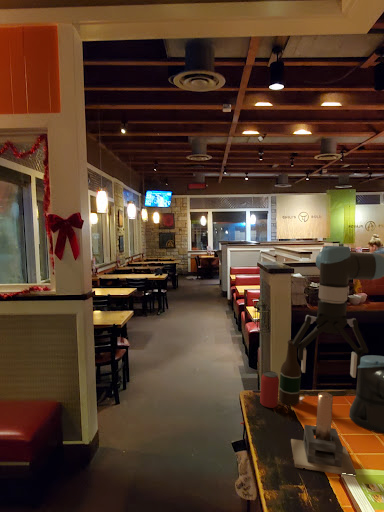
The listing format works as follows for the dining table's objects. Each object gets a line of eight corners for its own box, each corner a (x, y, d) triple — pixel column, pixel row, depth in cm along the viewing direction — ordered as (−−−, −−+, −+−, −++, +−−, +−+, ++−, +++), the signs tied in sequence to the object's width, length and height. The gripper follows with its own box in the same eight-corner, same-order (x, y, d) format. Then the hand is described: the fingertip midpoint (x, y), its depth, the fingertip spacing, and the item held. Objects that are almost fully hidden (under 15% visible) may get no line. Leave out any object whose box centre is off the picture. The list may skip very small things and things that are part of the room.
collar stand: (344, 449, 106) (346, 427, 106) (356, 476, 94) (358, 452, 94) (290, 441, 109) (292, 420, 108) (295, 467, 97) (296, 443, 97)
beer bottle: (300, 406, 132) (304, 344, 130) (279, 404, 133) (283, 342, 131) (297, 397, 139) (301, 338, 138) (278, 394, 141) (281, 336, 139)
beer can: (277, 409, 129) (279, 378, 128) (259, 407, 130) (261, 376, 129) (277, 401, 135) (278, 371, 134) (259, 399, 137) (261, 369, 136)
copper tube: (327, 451, 103) (331, 393, 102) (330, 460, 99) (334, 399, 98) (313, 449, 104) (316, 391, 103) (315, 458, 100) (319, 398, 99)
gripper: (375, 300, 100) (369, 372, 101) (285, 295, 104) (282, 364, 106) (384, 306, 92) (378, 383, 94) (288, 299, 97) (284, 373, 98)
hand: (327, 373), depth 100 cm, fingers open, 13 cm apart
